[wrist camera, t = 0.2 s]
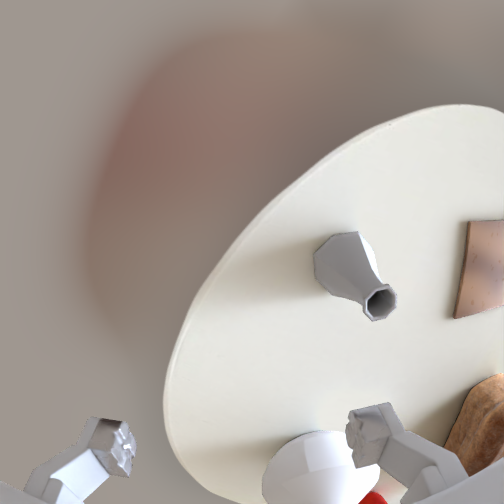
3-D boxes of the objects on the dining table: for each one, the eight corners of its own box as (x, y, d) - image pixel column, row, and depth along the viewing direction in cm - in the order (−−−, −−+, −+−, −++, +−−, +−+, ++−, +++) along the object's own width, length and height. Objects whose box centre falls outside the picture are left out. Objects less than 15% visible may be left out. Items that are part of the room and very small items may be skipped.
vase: (252, 473, 44) (256, 560, 26) (269, 413, 39) (282, 530, 21) (345, 469, 46) (367, 546, 27) (381, 409, 40) (424, 502, 22)
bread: (506, 361, 40) (545, 401, 27) (468, 442, 49) (491, 479, 35) (465, 381, 40) (504, 431, 27) (431, 460, 49) (452, 502, 35)
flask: (301, 250, 32) (326, 289, 22) (360, 219, 31) (406, 246, 21) (326, 303, 34) (354, 354, 24) (381, 274, 33) (424, 315, 23)
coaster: (468, 221, 31) (470, 222, 31) (523, 219, 32) (525, 220, 31) (452, 317, 36) (454, 319, 35) (508, 301, 36) (510, 303, 35)
